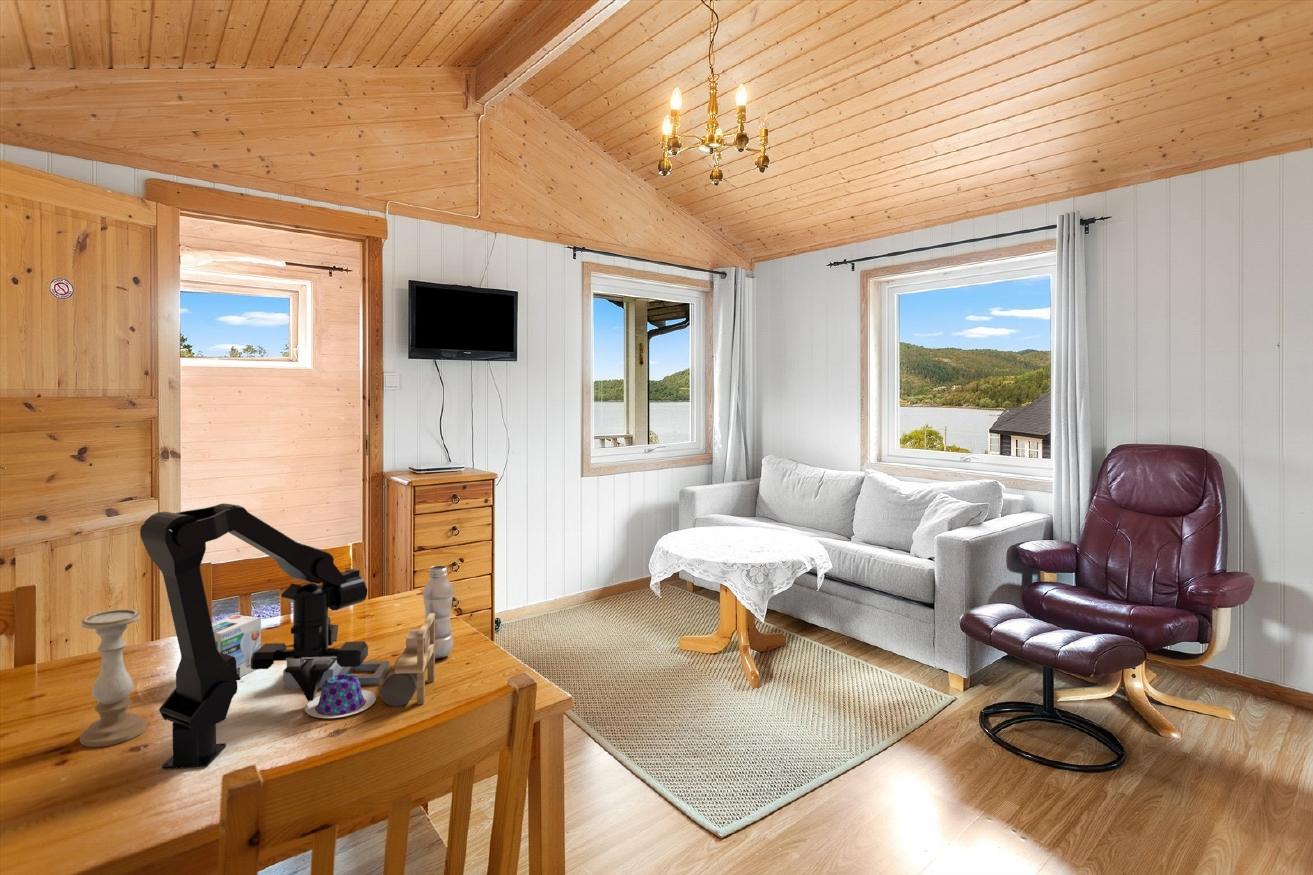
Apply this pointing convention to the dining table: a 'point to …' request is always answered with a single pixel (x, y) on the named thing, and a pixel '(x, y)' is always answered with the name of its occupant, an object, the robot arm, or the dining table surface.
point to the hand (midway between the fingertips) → (311, 700)
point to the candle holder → (112, 682)
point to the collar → (377, 666)
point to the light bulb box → (239, 639)
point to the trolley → (412, 667)
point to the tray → (332, 671)
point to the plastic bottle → (440, 608)
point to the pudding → (340, 697)
